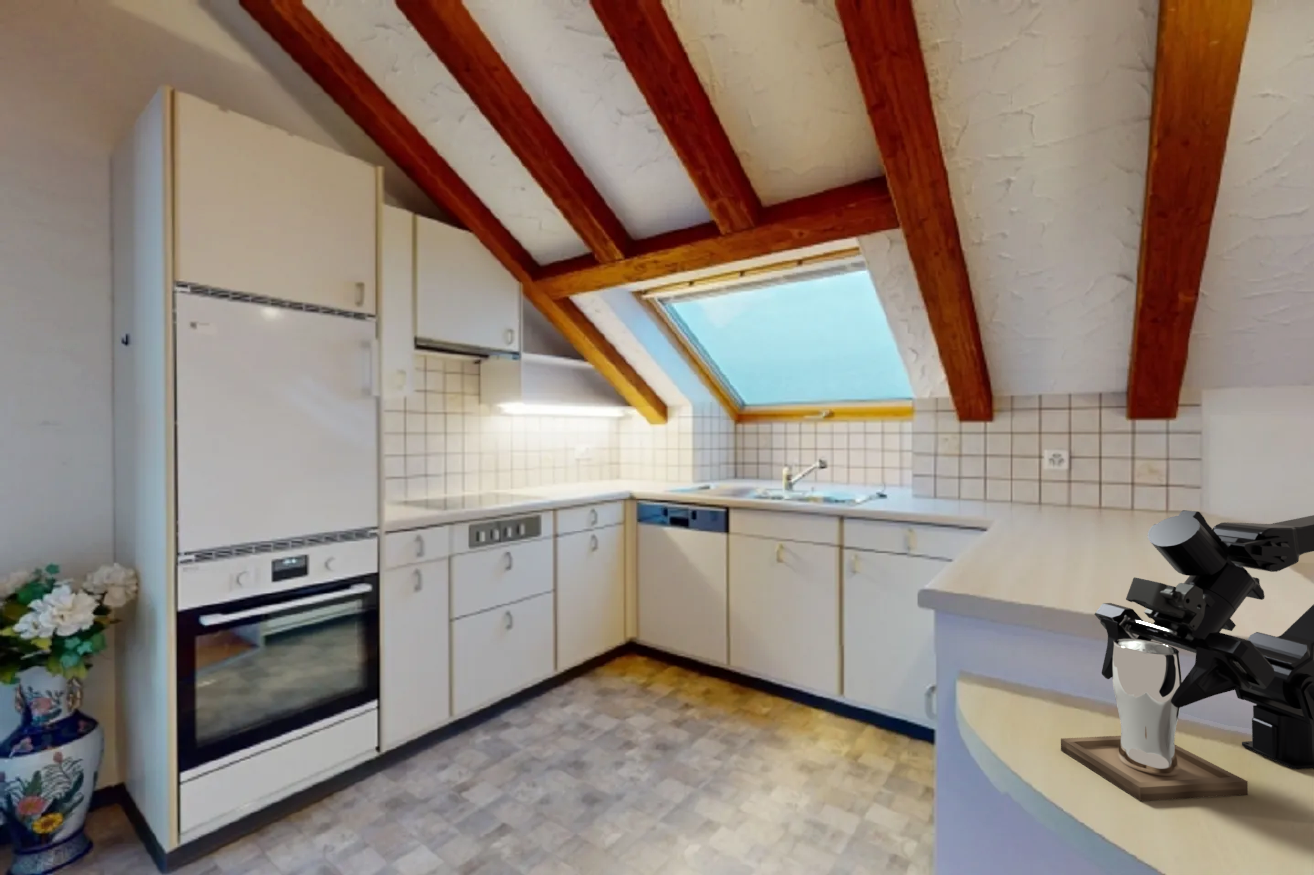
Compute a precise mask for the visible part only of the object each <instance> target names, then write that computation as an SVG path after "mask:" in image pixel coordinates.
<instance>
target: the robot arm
mask: <svg viewBox="0 0 1314 875" xmlns="http://www.w3.org/2000/svg"><path fill="white" fill-rule="evenodd" d="M1147 532H1148V533H1147V540H1148V541H1149V542H1150V543H1151V545H1152V546H1153V547H1154V548H1155V549H1156V550H1157V551H1158V552H1159V554H1160V555H1161V556H1162V557H1163V558H1164V559H1165V561H1167V563H1168V564H1169V565H1170V566H1171V567H1172V569H1174V571H1175V572H1177V573H1179V574H1181V575H1183V576H1188V577H1187V578H1186V580H1185V581H1184V582H1179V583H1178V584H1177V585H1175V586H1173V585H1169V584H1167V583H1162V582H1160V581H1159V582H1158V581H1153V580H1149V579H1144V578H1140V577H1133V579H1132V581H1131V584H1130V586H1129V589H1128V591H1127V594H1126V597H1125V600H1126V601H1127V602H1130V603H1135V604H1137V605H1140V606H1141V607H1143V608H1145V610H1144V611H1143V613H1144V614H1145V615H1146V616H1147V617H1148V618H1149V619H1152V620H1153V621H1154V622H1153V624H1152V623H1150V622H1145V621H1144V619H1142V617H1141V616H1140V615H1139V614H1138V613H1137V612H1136V611H1135V610H1134V609H1133V608H1130V607H1127V606H1123V605H1120V604H1116V603H1112V602H1103V603H1102V604H1101V605H1100V606H1099V608H1097V610H1096V612H1095V613H1094V616H1095V617H1096V618H1097V619H1098V620H1099V622H1100V625H1102V626H1103V628H1104V629H1105V630H1106V633H1107V644H1106V649H1105V650H1106V651H1105V654H1104V659H1103V664H1102V667H1101V668H1102V670H1101V675H1102V676H1103V678H1105V679H1107V680H1110V679H1112V660H1113V649H1114V640H1116V639H1122V638H1130V639H1141V640H1148V641H1154V642H1158V643H1162V644H1165V645H1169V646H1171V647H1174V648H1178V649H1180V650H1184V651H1188V652H1191V653H1194V654H1195V662H1194V665H1193V666H1192V668H1191V669H1190V670H1189V672H1188V674H1187V675H1186V676H1185V677H1184V679H1183V680H1182V683H1181V684H1180V686H1179V687H1178V688H1177V690H1176V691H1175V693H1174V695H1173V697H1172V699H1171V703H1172V704H1173V705H1174V706H1175V707H1177V708H1180V709H1181V708H1183V707H1186V706H1188V705H1191V704H1193V703H1197V702H1199V701H1202V700H1204V699H1207V698H1210V697H1214V696H1217V695H1220V694H1224V693H1228V692H1231V691H1235V694H1236V697H1237V699H1239V700H1242V701H1247V702H1249V703H1252V704H1254V705H1252V716H1253V717H1252V718H1251V741H1250V740H1249V741H1247V740H1246V741H1241V746H1242V747H1245V748H1246V749H1248V750H1250V751H1253V752H1255V753H1257V754H1260V755H1262V756H1264V757H1266V758H1268V759H1270V760H1273V761H1275V762H1277V763H1279V764H1281V765H1284V766H1285V767H1287V768H1290V769H1294V770H1305V769H1309V770H1310V769H1314V603H1313V604H1312V605H1311V606H1309V608H1308V609H1307V610H1306V611H1305V612H1304V613H1303V614H1302V615H1301V616H1299V617H1298V619H1296V620H1295V622H1293V623H1292V624H1291V625H1290V626H1289V627H1288V628H1287V629H1286V630H1285V631H1284V632H1283V633H1282V634H1281V635H1279V636H1275V635H1272V634H1267V633H1263V632H1260V631H1255V632H1254V633H1252V634H1250V635H1249V637H1248V638H1247V639H1245V638H1241V637H1238V636H1234V635H1231V634H1226V633H1222V632H1221V631H1222V630H1225V631H1229V632H1233V630H1234V629H1235V628H1236V627H1237V625H1236V624H1235V622H1234V621H1233V620H1232V619H1231V618H1232V617H1233V615H1234V614H1235V613H1236V611H1237V610H1238V609H1239V607H1240V606H1241V604H1242V603H1243V602H1244V601H1245V599H1246V598H1250V599H1256V600H1264V599H1265V596H1266V595H1265V592H1264V589H1263V588H1262V587H1261V584H1260V578H1259V577H1254V576H1252V575H1251V574H1250V572H1249V571H1248V570H1247V569H1252V570H1259V571H1265V572H1271V573H1272V572H1273V573H1274V572H1275V573H1277V572H1280V571H1282V570H1285V569H1286V568H1288V567H1291V566H1294V565H1296V564H1298V562H1299V561H1300V560H1299V559H1300V556H1302V555H1304V554H1307V553H1311V552H1314V514H1313V515H1308V516H1304V517H1297V518H1292V519H1288V520H1284V521H1283V520H1282V521H1279V522H1272V523H1255V522H1252V523H1251V522H1229V521H1228V522H1220V523H1217V524H1216V525H1214V526H1213V528H1212V527H1211V526H1210V525H1209V524H1208V522H1207V521H1206V519H1205V517H1204V516H1203V515H1202V513H1201V512H1200V511H1197V510H1187V509H1186V510H1185V509H1183V510H1181V512H1180V513H1179V514H1178V515H1175V516H1174V515H1173V516H1170V517H1167V518H1165V519H1163V520H1161V521H1158V522H1157V523H1154V524H1153V525H1152V526H1151V527H1150V528H1149V530H1148V531H1147ZM1246 568H1247V569H1246Z"/></svg>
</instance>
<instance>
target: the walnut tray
mask: <svg viewBox="0 0 1314 875" xmlns="http://www.w3.org/2000/svg"><path fill="white" fill-rule="evenodd" d="M1120 741H1121V735H1108V736H1106V735H1104V736H1089V737H1088V736H1086V737H1085V736H1084V737H1083V736H1082V737H1067V738H1066V737H1064V738H1060V751H1061V752H1063V753H1064V754H1066V755H1068V756H1069V757H1071V758H1072V759H1074V760H1075V761H1077V762H1078V763H1079V764H1081V765H1082V766H1084V767H1086V768H1088V769H1090V771H1092V772H1094V773H1096V774H1097V775H1098V776H1100V777H1101V778H1103V779H1105V780H1107V781H1108V782H1110V784H1111V783H1112V785H1114V786H1115V787H1117V788H1118V789H1120V790H1122V791H1123V792H1125V793H1126V794H1128V795H1129V796H1131V797H1133V798H1134V799H1136V800H1138V801H1139V802H1151V801H1152V802H1153V801H1166V800H1167V801H1170V800H1171V801H1173V800H1183V799H1184V800H1186V799H1200V798H1203V799H1204V798H1219V797H1233V796H1234V797H1235V796H1248V795H1249V791H1248V783H1249V782H1248V780H1245V779H1244V778H1242V777H1240V776H1238V775H1236V774H1234V773H1233V772H1230V771H1228V770H1227V769H1225V768H1222V767H1220V766H1218V765H1216V764H1215V763H1212V762H1210V761H1209V760H1206V759H1204V757H1203V758H1202V757H1200V756H1198V755H1196V754H1194V753H1192V752H1190V751H1189V750H1187V749H1185V748H1183V747H1181V746H1178V745H1177V744H1175V743H1174V745H1175V753H1176V757H1177V761H1178V765H1179V773H1178V774H1177V775H1175V776H1158V775H1153V774H1148V773H1145V772H1142V771H1139V770H1136V769H1134V768H1131V767H1129V766H1128V765H1126V764H1124V763H1123V762H1122V761H1121V760H1120V759H1119V758H1118V750H1119V745H1120Z"/></svg>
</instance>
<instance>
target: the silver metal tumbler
mask: <svg viewBox="0 0 1314 875" xmlns="http://www.w3.org/2000/svg"><path fill="white" fill-rule="evenodd" d="M1111 679H1112V687H1113V688H1112V689H1113V693H1114V697H1115V702H1116V706H1117V711H1118V716H1119V721H1120V729H1121V730H1120V731H1121V732H1120V736H1121V741H1120V745H1119V750H1118V758H1119V759H1120V760H1121V761H1122V762H1123V763H1124V764H1126V765H1128V766H1129V767H1131V768H1134V769H1136V770H1139V771H1142V772H1145V773H1148V774H1153V775H1158V776H1175V775H1177V774H1178V773H1179V765H1178V761H1177V757H1176V753H1175V745H1176V744H1175V739H1176V730H1177V726H1178V725H1177V724H1178V720H1179V715H1180V712H1181V711H1180V710H1181V707H1180V708H1177V707H1175V706H1174V705H1173V704H1172V703H1171V699H1172V697H1173V695H1174V693H1175V691H1176V690H1177V688H1178V687H1179V686H1180V684H1181V683H1182V682H1183V680H1182V679H1183V676H1182V666H1181V659H1180V650H1178V649H1177V647H1174V646H1171V645H1168V644H1165V643H1162V642H1158V641H1154V640H1151V641H1148V640H1141V639H1130V638H1122V639H1116V640H1114V649H1113V660H1112V677H1111ZM1174 744H1175V745H1174Z"/></svg>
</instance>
